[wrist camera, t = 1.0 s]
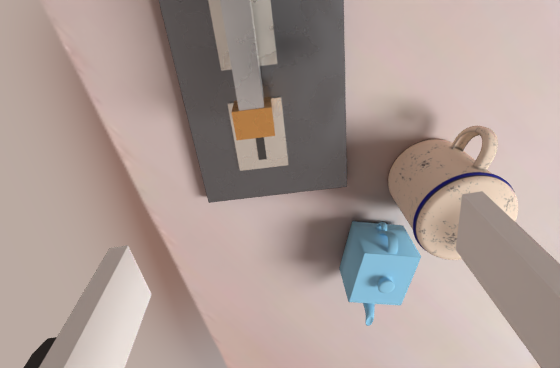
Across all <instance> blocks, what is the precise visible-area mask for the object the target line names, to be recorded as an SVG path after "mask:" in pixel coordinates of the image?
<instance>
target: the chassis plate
mask: <svg viewBox="0 0 560 368" xmlns="http://www.w3.org/2000/svg"><path fill="white" fill-rule="evenodd" d="M159 4H160V8H161V12H162V16H163V20H164V24H165V28H166V32H167V36H168V40H169V44H170V48H171V52H172V56H173V60H174V64H175V68H176V72H177V76H178V80H179V84H180V88H181V92H182V97H183V101H184V105H185V109H186V113H187V117H188V121H189V125H190V129H191V133H192V137H193V141H194V145H195V149H196V153H197V157H198V161H199V165H200V169H201V173H202V177H203V181H204V185H205V190H206V194H207V198H208V202H209V203H210V202H218V201H227V200H235V199H244V198H253V197H261V196H270V195H278V194H287V193H296V192H304V191H313V190H322V189H330V188H339V187H347V158H346V104H345V51H344V0H251V4H252V11H253V19H254V26H255V34H256V41H257V49H258V56H259V64H260V71H261V79H262V86H263V94H264V97H271V101H272V110H273V118H274V127H275V136H270V137H261V138H253V139H245V140H236V135H235V129H234V124H233V118H232V113H231V112H232V108H233V104H234V101H237V96H236V91H235V85H234V79H233V73H232V67H231V62H230V56H229V50H228V44H227V38H226V32H225V27H224V21H223V15H222V9H221V3H220V0H159Z"/></svg>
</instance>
